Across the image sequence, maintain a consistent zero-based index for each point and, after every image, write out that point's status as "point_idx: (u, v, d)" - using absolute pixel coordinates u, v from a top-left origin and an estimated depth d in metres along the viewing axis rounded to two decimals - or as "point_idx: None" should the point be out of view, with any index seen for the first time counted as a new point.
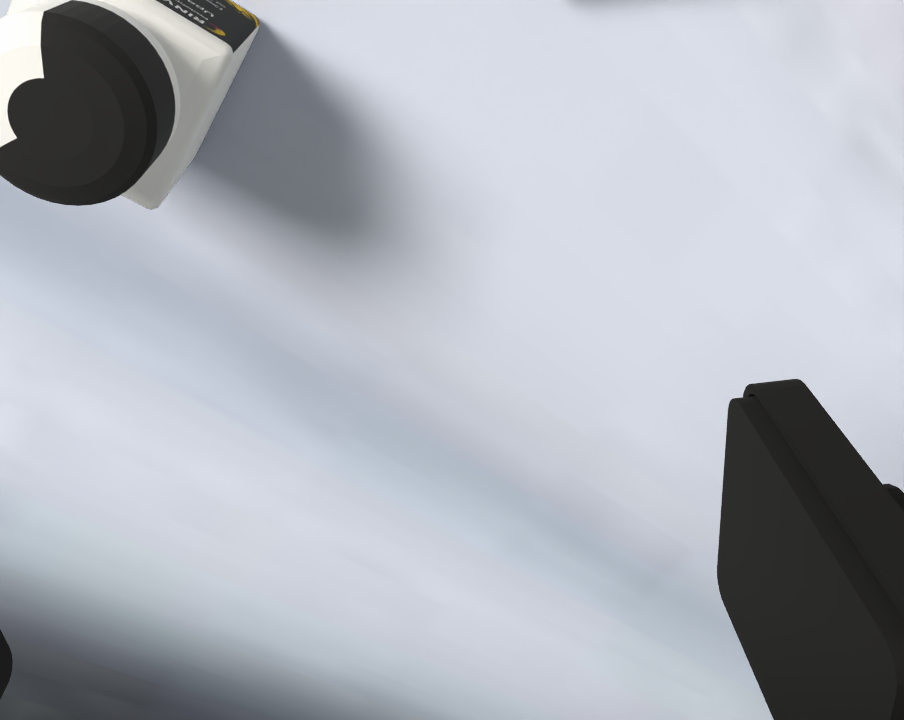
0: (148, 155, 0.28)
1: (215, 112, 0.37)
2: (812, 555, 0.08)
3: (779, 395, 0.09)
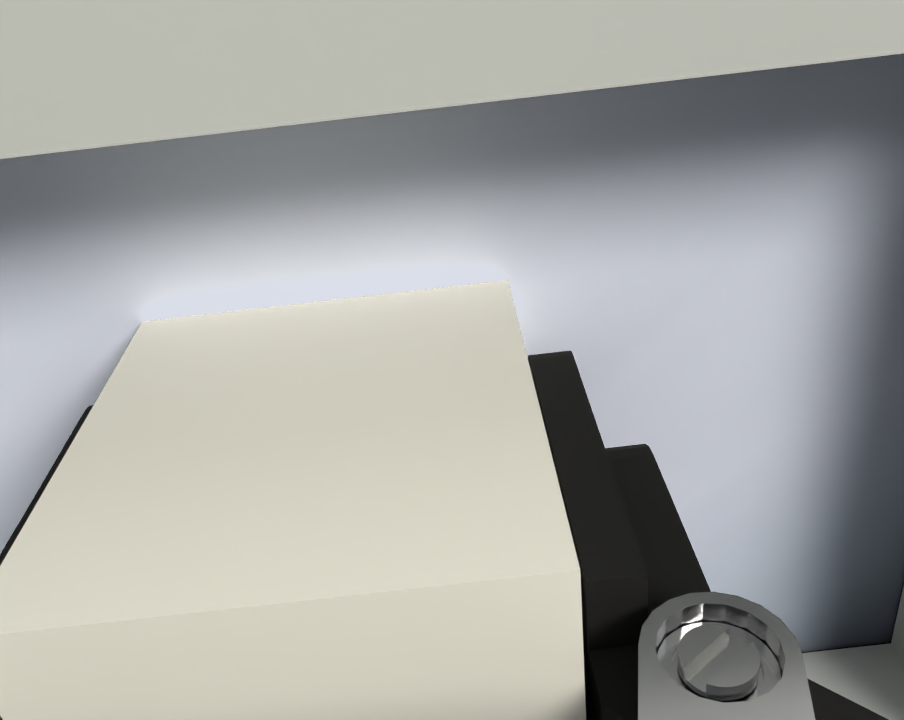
0: None
1: None
2: None
3: (546, 364, 0.10)
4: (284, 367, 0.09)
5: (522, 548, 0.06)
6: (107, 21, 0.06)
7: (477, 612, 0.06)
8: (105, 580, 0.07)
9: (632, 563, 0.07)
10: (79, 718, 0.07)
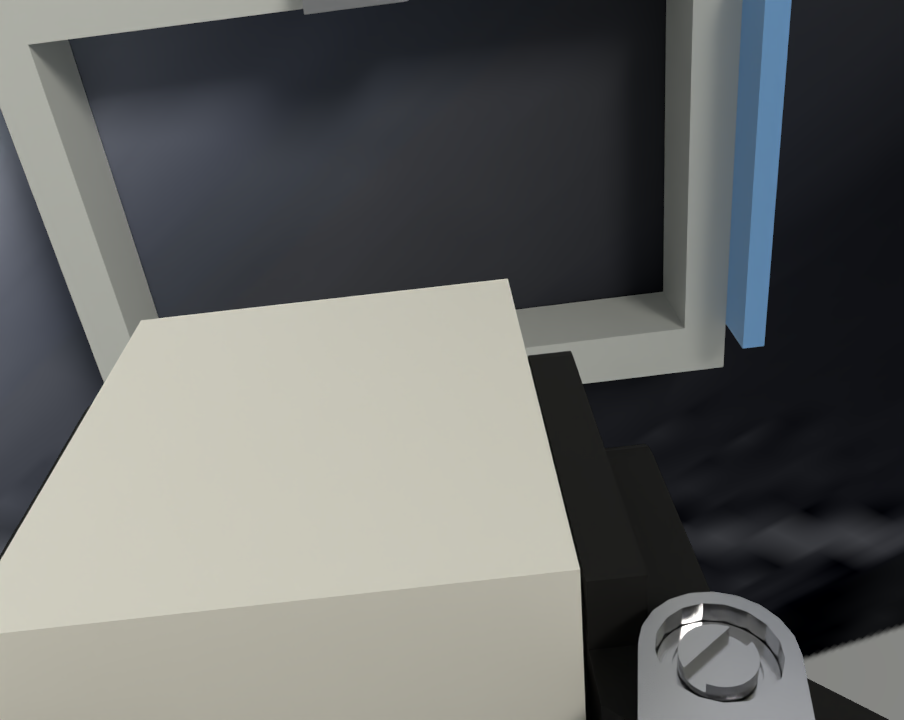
0: None
1: None
2: None
3: (546, 364, 0.10)
4: (283, 366, 0.09)
5: (520, 548, 0.06)
6: None
7: (478, 611, 0.06)
8: (104, 581, 0.07)
9: (632, 563, 0.07)
10: (77, 718, 0.07)
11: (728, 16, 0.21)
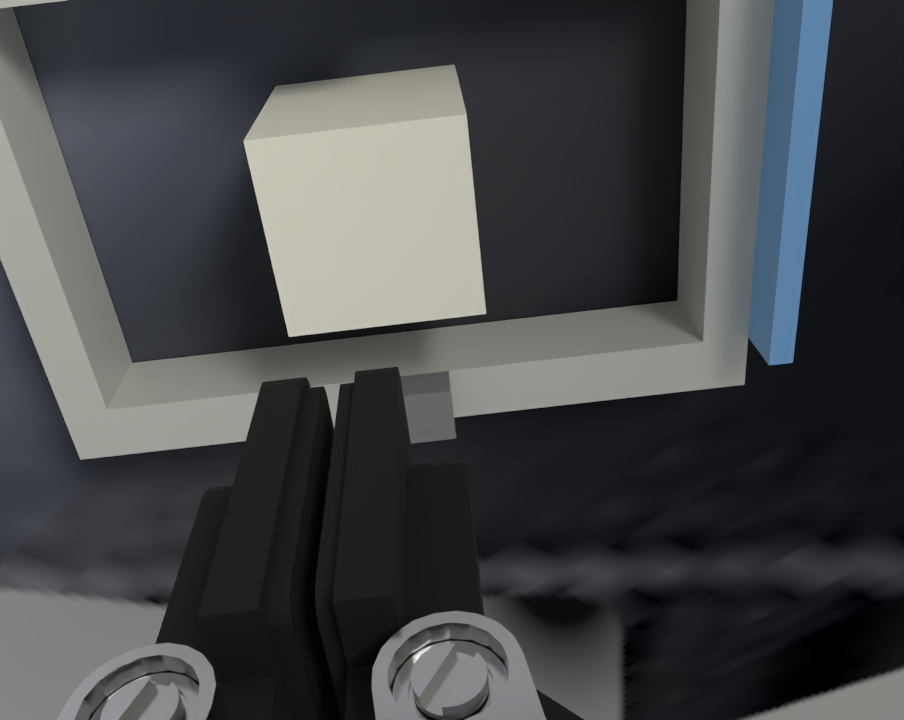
0: None
1: None
2: None
3: (368, 380, 0.10)
4: (349, 90, 0.20)
5: (446, 113, 0.17)
6: None
7: (430, 133, 0.17)
8: (292, 129, 0.18)
9: (382, 583, 0.07)
10: (281, 185, 0.18)
11: None
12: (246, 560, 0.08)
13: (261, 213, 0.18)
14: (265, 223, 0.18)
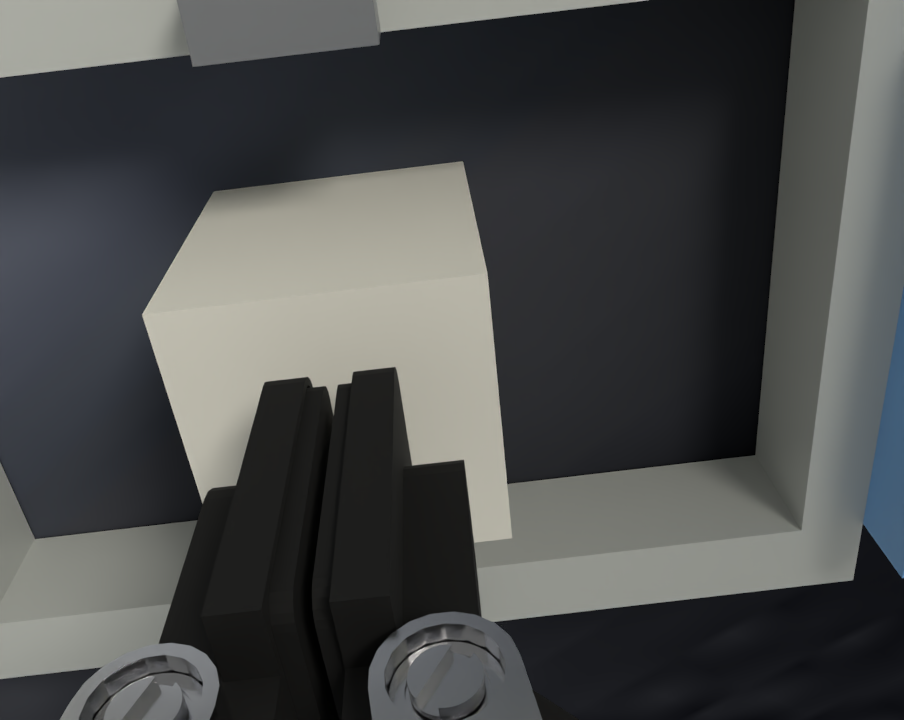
0: None
1: None
2: None
3: (365, 381, 0.10)
4: (314, 206, 0.14)
5: (456, 268, 0.11)
6: None
7: (432, 301, 0.11)
8: (220, 291, 0.12)
9: (378, 584, 0.07)
10: (204, 374, 0.12)
11: None
12: (249, 560, 0.08)
13: (175, 413, 0.12)
14: (182, 426, 0.12)
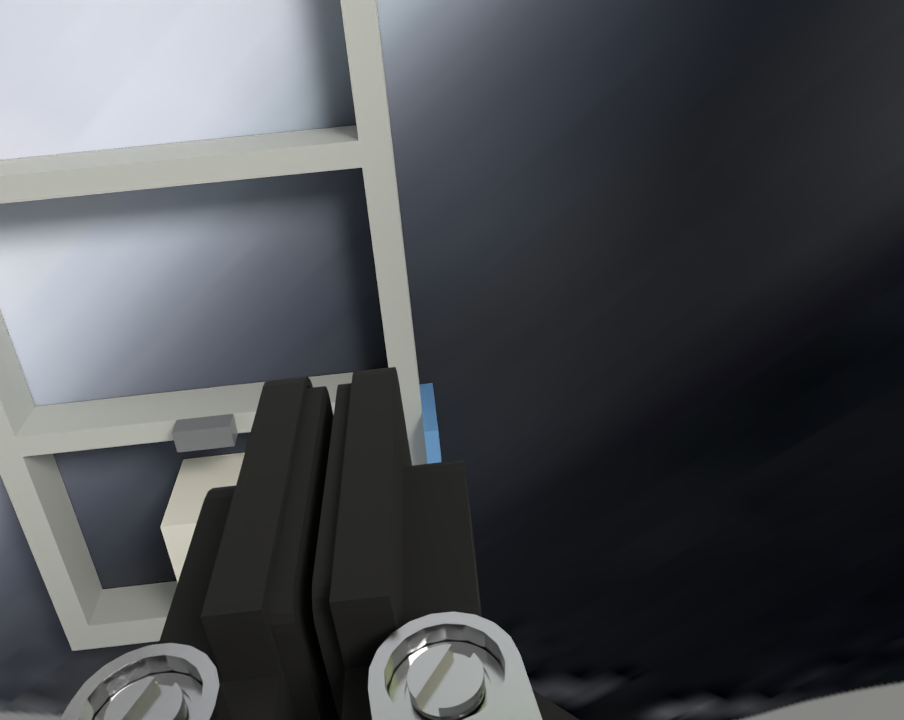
0: None
1: None
2: None
3: (365, 381, 0.10)
4: (219, 473, 0.39)
5: None
6: None
7: None
8: (184, 517, 0.37)
9: (378, 583, 0.07)
10: (179, 543, 0.37)
11: (417, 440, 0.38)
12: (249, 560, 0.08)
13: (169, 554, 0.37)
14: (171, 558, 0.37)
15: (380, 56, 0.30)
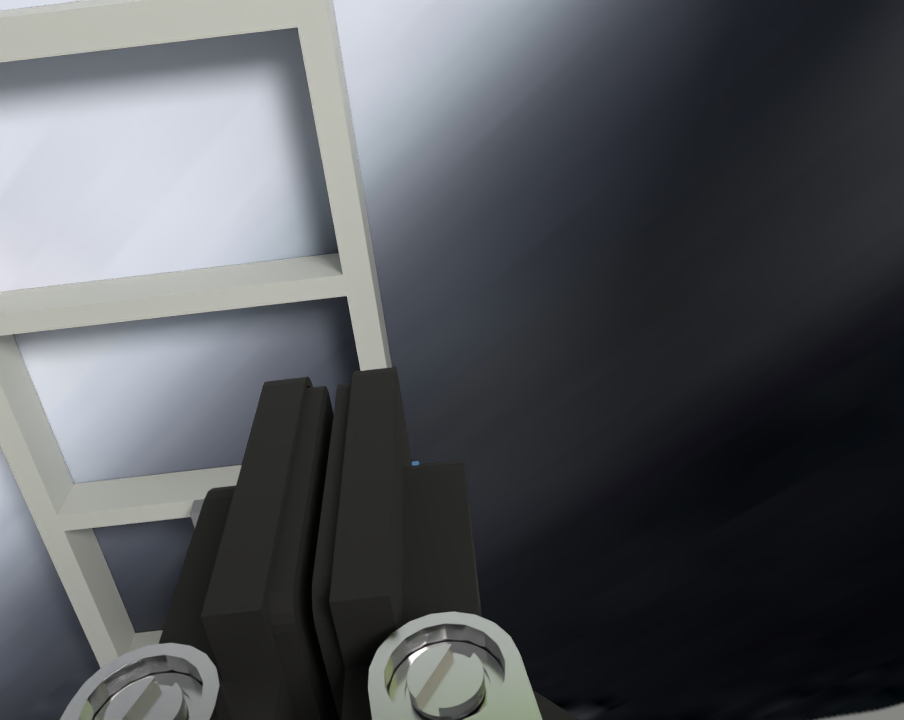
0: None
1: None
2: None
3: (365, 381, 0.10)
4: None
5: None
6: (53, 29, 0.31)
7: None
8: None
9: (378, 584, 0.07)
10: None
11: None
12: (249, 560, 0.08)
13: None
14: None
15: (359, 208, 0.35)
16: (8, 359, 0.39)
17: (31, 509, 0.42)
